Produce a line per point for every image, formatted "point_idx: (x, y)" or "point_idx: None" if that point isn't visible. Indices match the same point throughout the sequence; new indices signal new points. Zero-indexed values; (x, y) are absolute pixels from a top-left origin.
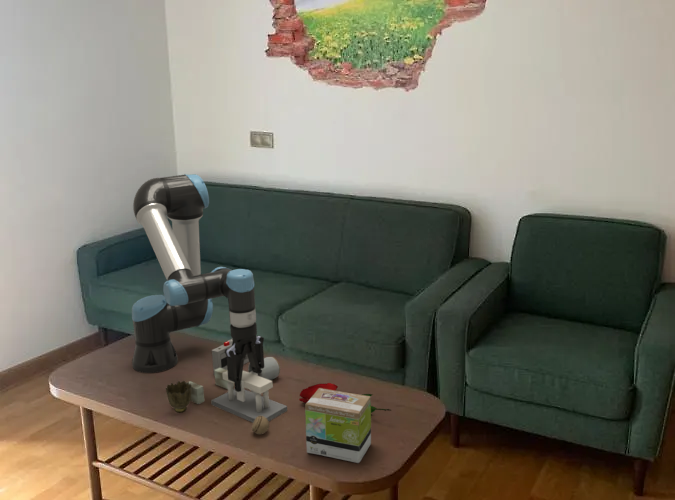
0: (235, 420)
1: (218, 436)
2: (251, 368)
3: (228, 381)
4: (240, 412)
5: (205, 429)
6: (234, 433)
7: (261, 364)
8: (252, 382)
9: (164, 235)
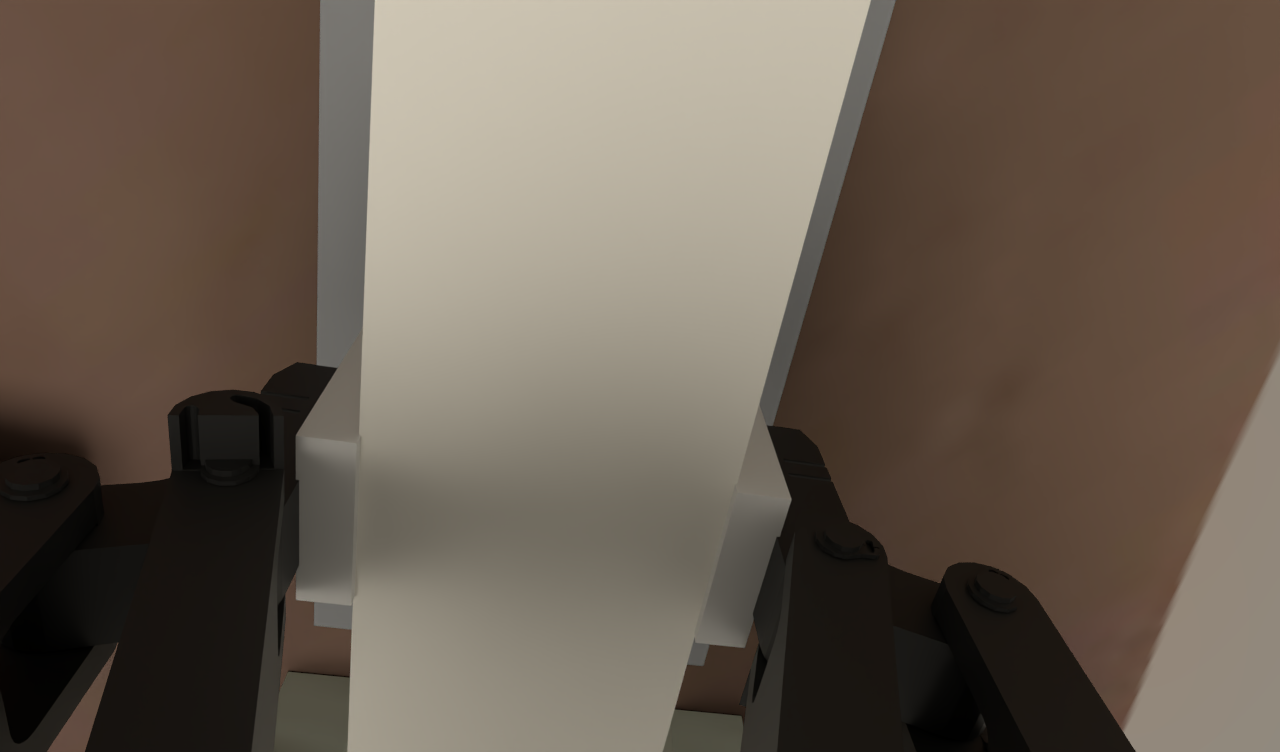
0: (890, 241)
1: (1276, 190)
2: (282, 646)
3: (330, 750)
4: (815, 253)
5: (1155, 400)
6: (1179, 58)
7: (37, 541)
8: (706, 296)
9: None
